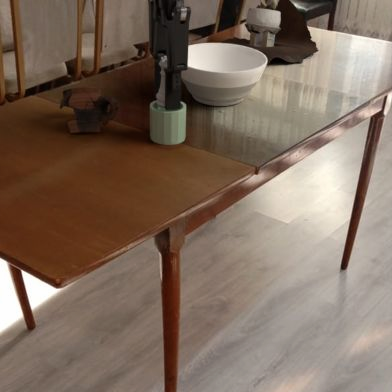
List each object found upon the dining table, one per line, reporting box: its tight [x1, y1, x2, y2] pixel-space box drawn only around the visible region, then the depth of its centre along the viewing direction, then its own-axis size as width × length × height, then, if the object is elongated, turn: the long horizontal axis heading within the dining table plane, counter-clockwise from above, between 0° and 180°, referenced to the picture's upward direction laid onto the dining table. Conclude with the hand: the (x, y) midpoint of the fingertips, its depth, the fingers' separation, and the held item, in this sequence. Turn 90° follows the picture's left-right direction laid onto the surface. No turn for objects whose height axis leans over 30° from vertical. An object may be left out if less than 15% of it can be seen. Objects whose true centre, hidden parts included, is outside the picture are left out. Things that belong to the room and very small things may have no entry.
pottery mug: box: [59, 86, 120, 134], centre depth 119 cm, size 12×10×8 cm
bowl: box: [181, 42, 267, 107], centre depth 132 cm, size 20×20×8 cm
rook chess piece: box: [155, 56, 168, 108], centre depth 111 cm, size 4×4×8 cm
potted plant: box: [221, 0, 320, 67], centre depth 155 cm, size 20×19×25 cm
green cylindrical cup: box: [149, 100, 187, 146], centre depth 116 cm, size 7×7×6 cm
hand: (167, 102), depth 113 cm, fingers closed on rook chess piece, 4 cm apart
